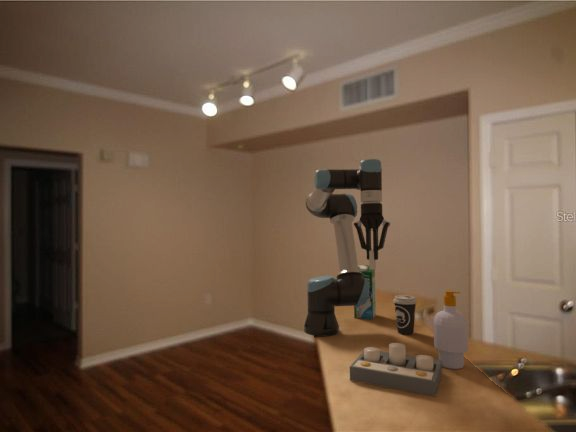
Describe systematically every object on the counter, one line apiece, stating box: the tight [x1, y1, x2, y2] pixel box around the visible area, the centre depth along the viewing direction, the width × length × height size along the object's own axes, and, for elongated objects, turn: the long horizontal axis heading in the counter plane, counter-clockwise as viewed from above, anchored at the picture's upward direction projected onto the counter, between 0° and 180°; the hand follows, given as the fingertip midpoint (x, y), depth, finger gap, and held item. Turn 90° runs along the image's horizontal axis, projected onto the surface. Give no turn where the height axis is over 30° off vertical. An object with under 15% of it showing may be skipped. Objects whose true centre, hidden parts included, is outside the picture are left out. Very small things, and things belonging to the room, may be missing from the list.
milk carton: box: [353, 264, 377, 320], centre depth 185 cm, size 9×9×25 cm
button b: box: [388, 342, 406, 367], centre depth 114 cm, size 5×5×6 cm
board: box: [349, 350, 443, 397], centre depth 113 cm, size 24×17×4 cm
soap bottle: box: [433, 290, 469, 370], centre depth 121 cm, size 10×10×24 cm
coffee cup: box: [392, 294, 418, 336], centre depth 157 cm, size 10×10×15 cm
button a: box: [363, 346, 381, 362], centre depth 118 cm, size 5×5×6 cm
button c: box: [416, 354, 434, 371], centre depth 111 cm, size 5×5×6 cm
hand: (372, 268), depth 132 cm, fingers closed
